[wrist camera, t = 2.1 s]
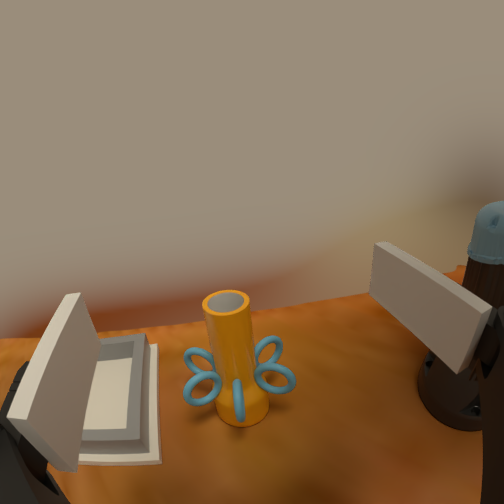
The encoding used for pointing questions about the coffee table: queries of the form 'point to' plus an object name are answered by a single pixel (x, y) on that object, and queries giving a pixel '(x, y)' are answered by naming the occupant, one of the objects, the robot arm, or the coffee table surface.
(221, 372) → the orange tube
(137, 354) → the holder tray
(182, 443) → the coffee table surface
